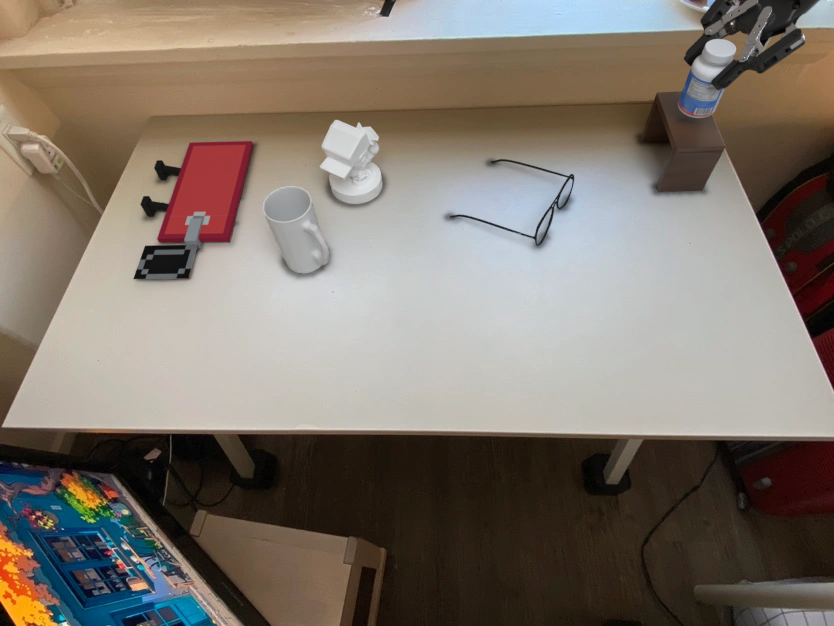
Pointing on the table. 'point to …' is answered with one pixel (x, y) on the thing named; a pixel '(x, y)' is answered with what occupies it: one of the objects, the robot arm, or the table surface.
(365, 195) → the character figurine
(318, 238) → the mug
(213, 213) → the red board with handle
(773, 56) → the robot arm
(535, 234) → the glasses
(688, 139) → the walnut shelf
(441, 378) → the table surface
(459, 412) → the table surface
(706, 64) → the pill bottle
